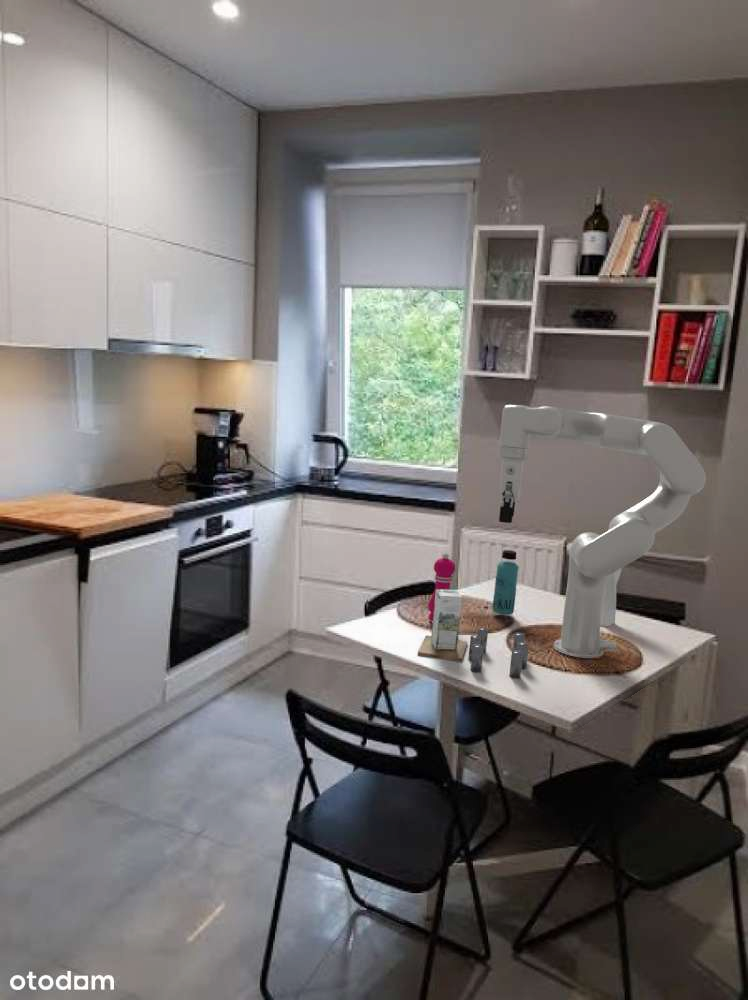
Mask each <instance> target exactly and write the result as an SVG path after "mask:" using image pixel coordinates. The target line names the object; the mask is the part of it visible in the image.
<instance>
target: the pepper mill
mask: <svg viewBox="0 0 748 1000" xmlns="http://www.w3.org/2000/svg"><path fill="white" fill-rule="evenodd" d="M449 557H450V556H449V554H448V553H447V552H444V553H443V554H442V557H440V558H438V559H437V560H435V562H434V565H433V571H434V572H435V574H434V580H435V588H434V591H433V593H432V595H431V596H430V598H429V600H428V605H427V606H428V611H429V612H430V613H429V614H428V621H429V620H431V621H433V614H434V604H435V593H436V589H438V590H451V583H452V581H453V577H454V576H453V574H454V573H455V572H456V564H455V562H454V561H453V560H452V559H450V558H449Z"/></svg>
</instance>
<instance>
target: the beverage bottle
mask: <svg viewBox="0 0 748 1000" xmlns="http://www.w3.org/2000/svg"><path fill="white" fill-rule="evenodd" d="M501 554H502V555H501V558H502V559H505V560H501V561H499V562H498V563H497V564H496V565H497V566H496V576H495V580H494V582H495V583H494V593H493V596H492V597H493V599H492V604H491V605H492V611H493V612H494V613H496V614H498V615H504V616H505V615H508V616H510V615H512V614H513V613H514V612H515V603H516V595H517V585H518V576H519V567H520V566H519V565H518V564H517V563H516V562H515V561H513V560H517V552H516V551H515V550H510V549H504V550H502V553H501ZM511 560H512V561H511Z"/></svg>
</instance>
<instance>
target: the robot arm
mask: <svg viewBox="0 0 748 1000" xmlns="http://www.w3.org/2000/svg"><path fill="white" fill-rule="evenodd" d="M531 435H533V436H539V437H543V438H552V437H556V438H563V439H567V440H572V441H573V440H574V441H577V442H582V443H585V444H588V445H589V446H593V447H597V448H602V449H607V450H614V451H621V452H625V453H633V454H638V455H644V456H647V457H648V458H649V459H650V461H651V462H652V464H653V465H654V467H655V468H656V469H657V470H658V472H659V484H658V486H657V487H656V489H655V491H654V492H653V493H651V495H649V496H648V497H646V498H644V500H642V501H640V502H638V503H636V504H635V505H633V506H632V507H630V508H628V509H627V510H625V511H623V512H621V513H619V514H617V515H616V516H614V517H613V518H612V519H611V520H610V522H609V525H608V531H605V532H604V533H603V534H598V533H597V532H590V531H588V532H583V533H580V534H579V535H577V536H576V537H575V538H574V539H573V541H572V543H571V545H570V548H569V556H568V572H567V573H568V576H567V585H566V593H565V600H564V608H563V617H562V626H561V634H560V638H559V639H556V640H554V642H553V648H554V650H556V651H557V650H558V651H559V652H558V651H557V652H558V653H560V652H561V653H560V654H562V653H564V654H567V655H570V656H575V657H582V658H595V657H599V656H601V655H602V656H603V654H604V650H608V651H614V652H617V649H618V648H617V646H618V644H617V643H616V642H615V643H614V642H612V641H611V640H607V639H602V638H601V635H600V630H601V625H600V624H601V616H602V608H603V600H604V594H605V586H606V576H608V575H610V574H612V573H613V572H615V571H617V570H619V569H620V568H622V569H623V568H624V567H625V566H627V565H629V564H630V563H632V562H634V561H636V560H637V559H639V558H641V557H643V556H644V555H645V554H647V552H649V551H650V549H651V548H652V546H653V545H654V542H655V538H656V534H657V533H658V532H660V531H661V530H662V529H664V528H666V527H667V526H669V525H670V524H672V523H673V522H675V521H676V520H677V519H678V518H679V517H680V516H681V515H682V514H683V513H684V512H685V510H686V508H687V506H688V504H689V502H690V499H691V496H693V495H696V494H698V493H700V492H701V491H702V489H703V488H704V486H705V484H706V481H707V475H706V472H705V469H704V468H703V465H702V464H701V463H700V462H699V461H698V459H697V458H696V457H695V455H694V454H693V453H692V452H691V450H690V449H689V448H688V446H687V445H686V443H684V441H683V440H682V438H681V437H680V436H679V434H678V433H677V432H676V431H675V430H674V428H673V427H671V426H670V425H669V424H666V423H662V422H659V421H654V420H653V421H652V420H647V419H640V418H633V417H629V416H628V417H627V416H622V415H616V414H610V413H602V412H601V413H600V412H587V411H578V410H572V409H566V408H560V407H554V406H550V405H549V406H548V405H544V406H539V407H530V406H529V405H528V406H527V405H519V404H518V405H517V404H506V405H505V406H504V407H503V408H502V414H501V425H500V434H499V443H498V454H497V459H499V460H502V462H501V470H500V482H499V483H500V484H499V485H500V486H499V487H500V488H499V489H500V491H499V493H500V495H499V496H500V498H501V505H499V506H500V508H499V518H498V521H499V522H500V523H505V524H507V523H508V524H511V523H512V522H513V517H514V514H515V506H516V501H515V498H516V500H519V499H520V497H521V489H522V482H523V480H522V479H523V472H524V471H523V470H524V462H528V458H529V450H530V449H529V448H530V439H531ZM564 654H563V655H564ZM567 655H566V656H567ZM570 656H569V657H570ZM602 656H601V657H602ZM599 658H600V657H599Z"/></svg>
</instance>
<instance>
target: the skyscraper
mask: <svg viewBox="0 0 748 1000" xmlns="http://www.w3.org/2000/svg"><path fill="white" fill-rule="evenodd" d="M622 569H623V567H622V568H620V569H619V570H617V571H615V572H613V573H612V574H610V575H608V576H606V586H605V594H604V600H603V608H602V616H601V624H600V627H601V626H602V627H605V628H608V627H609V626H612V625H614V624H616V613H617V612H616V611H617V584H618V582H619V580H620V576H621V573H622Z"/></svg>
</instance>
